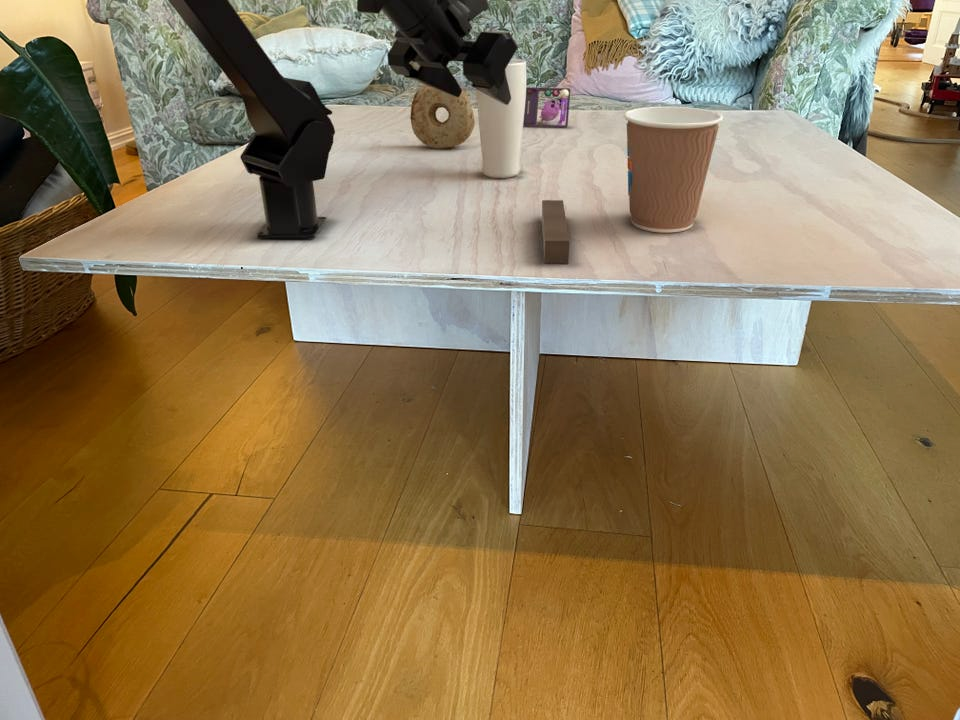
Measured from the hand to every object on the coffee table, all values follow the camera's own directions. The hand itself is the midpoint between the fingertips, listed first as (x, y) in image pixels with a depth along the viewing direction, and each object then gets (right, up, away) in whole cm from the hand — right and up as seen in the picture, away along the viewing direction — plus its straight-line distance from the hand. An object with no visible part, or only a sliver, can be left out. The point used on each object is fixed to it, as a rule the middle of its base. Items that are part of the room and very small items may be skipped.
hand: (483, 98), depth 98 cm
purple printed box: (+11, +9, +38) cm, 41 cm away
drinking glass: (+3, -8, +7) cm, 11 cm away
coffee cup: (+20, -19, -13) cm, 31 cm away
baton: (+8, -22, -18) cm, 29 cm away
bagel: (-7, 0, +23) cm, 24 cm away
